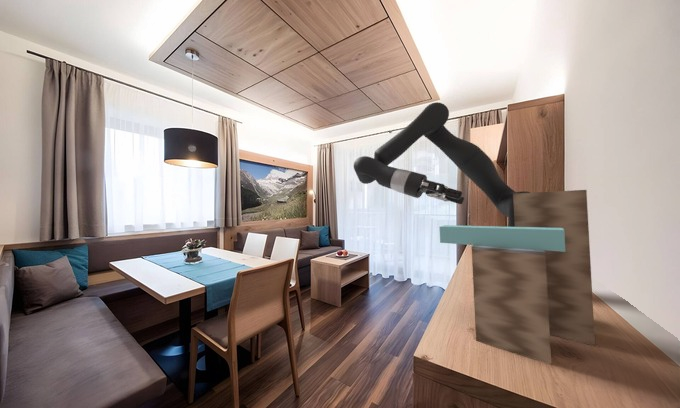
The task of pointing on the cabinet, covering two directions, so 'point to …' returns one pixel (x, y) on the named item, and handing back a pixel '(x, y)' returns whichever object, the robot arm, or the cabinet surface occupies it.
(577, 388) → the cabinet surface
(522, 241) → the batten
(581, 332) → the stand
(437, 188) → the robot arm
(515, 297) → the brown wooden block
